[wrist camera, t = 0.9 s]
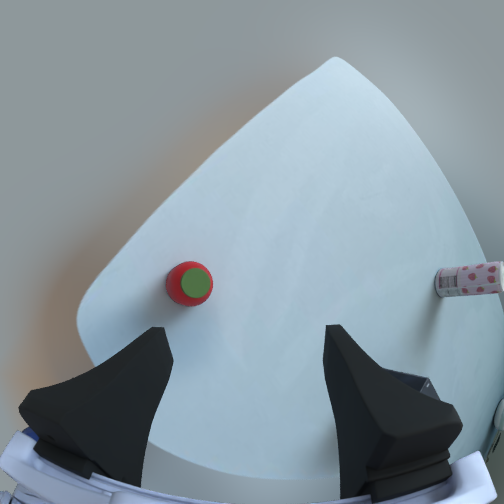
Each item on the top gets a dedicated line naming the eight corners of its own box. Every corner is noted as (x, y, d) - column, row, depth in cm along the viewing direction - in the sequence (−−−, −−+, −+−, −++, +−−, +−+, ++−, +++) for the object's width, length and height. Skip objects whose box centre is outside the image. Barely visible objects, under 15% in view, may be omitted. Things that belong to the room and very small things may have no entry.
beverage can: (448, 285, 49) (508, 279, 35) (439, 303, 47) (503, 299, 33) (441, 263, 48) (503, 254, 35) (431, 280, 46) (498, 273, 32)
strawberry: (185, 313, 28) (196, 317, 23) (157, 283, 27) (161, 282, 23) (213, 284, 30) (229, 283, 25) (186, 255, 29) (196, 248, 24)
